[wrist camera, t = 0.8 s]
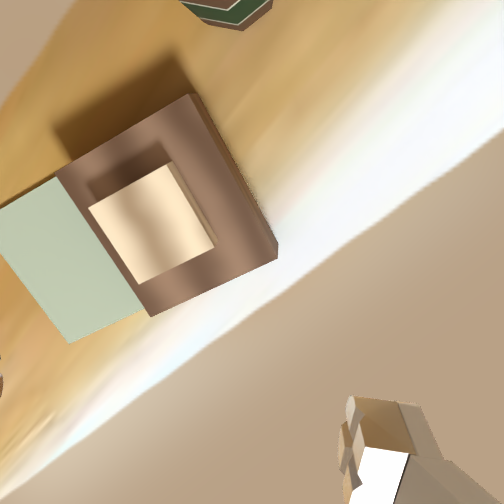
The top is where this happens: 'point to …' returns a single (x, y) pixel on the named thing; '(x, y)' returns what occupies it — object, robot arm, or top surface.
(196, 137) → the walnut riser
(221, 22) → the beer bottle
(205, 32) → the top surface
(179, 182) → the birch tile
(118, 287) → the rubber mat
